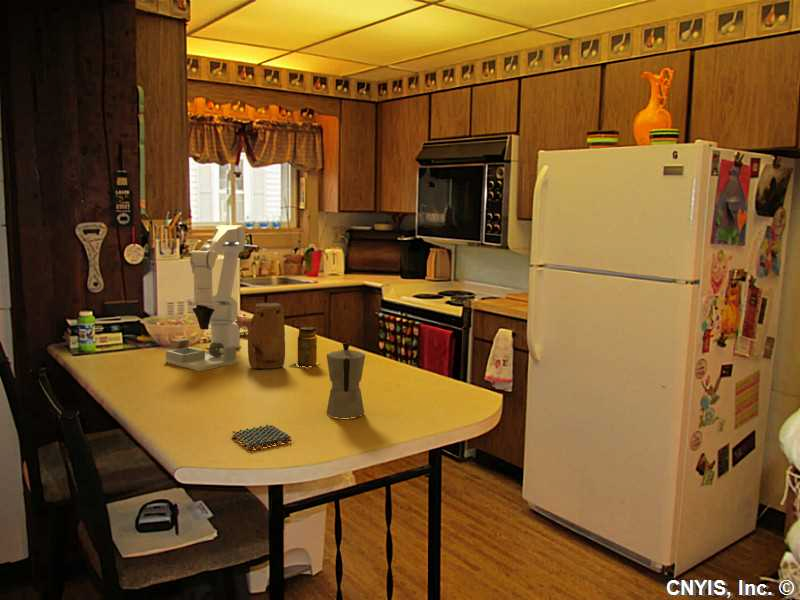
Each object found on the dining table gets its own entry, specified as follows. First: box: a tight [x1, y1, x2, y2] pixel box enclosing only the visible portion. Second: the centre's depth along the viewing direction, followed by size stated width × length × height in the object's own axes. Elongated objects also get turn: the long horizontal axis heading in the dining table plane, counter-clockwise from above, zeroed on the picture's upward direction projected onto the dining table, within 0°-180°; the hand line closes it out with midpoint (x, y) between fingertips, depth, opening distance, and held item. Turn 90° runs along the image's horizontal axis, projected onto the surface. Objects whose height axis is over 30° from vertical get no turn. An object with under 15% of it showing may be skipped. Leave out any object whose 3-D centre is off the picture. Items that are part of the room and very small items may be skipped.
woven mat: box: [231, 424, 293, 450], centre depth 149 cm, size 10×11×2 cm
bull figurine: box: [236, 311, 252, 338], centre depth 263 cm, size 4×13×8 cm, turn 40°
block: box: [247, 302, 286, 370], centre depth 212 cm, size 11×8×20 cm
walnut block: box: [169, 337, 190, 350], centre depth 224 cm, size 4×4×6 cm
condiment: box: [288, 326, 318, 370], centre depth 217 cm, size 7×8×12 cm
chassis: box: [165, 346, 239, 372], centre depth 217 cm, size 15×17×5 cm
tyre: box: [208, 342, 224, 357], centre depth 220 cm, size 4×2×4 cm, turn 143°
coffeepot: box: [326, 342, 366, 418], centre depth 166 cm, size 15×9×18 cm, turn 6°
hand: (204, 329), depth 223 cm, fingers closed
